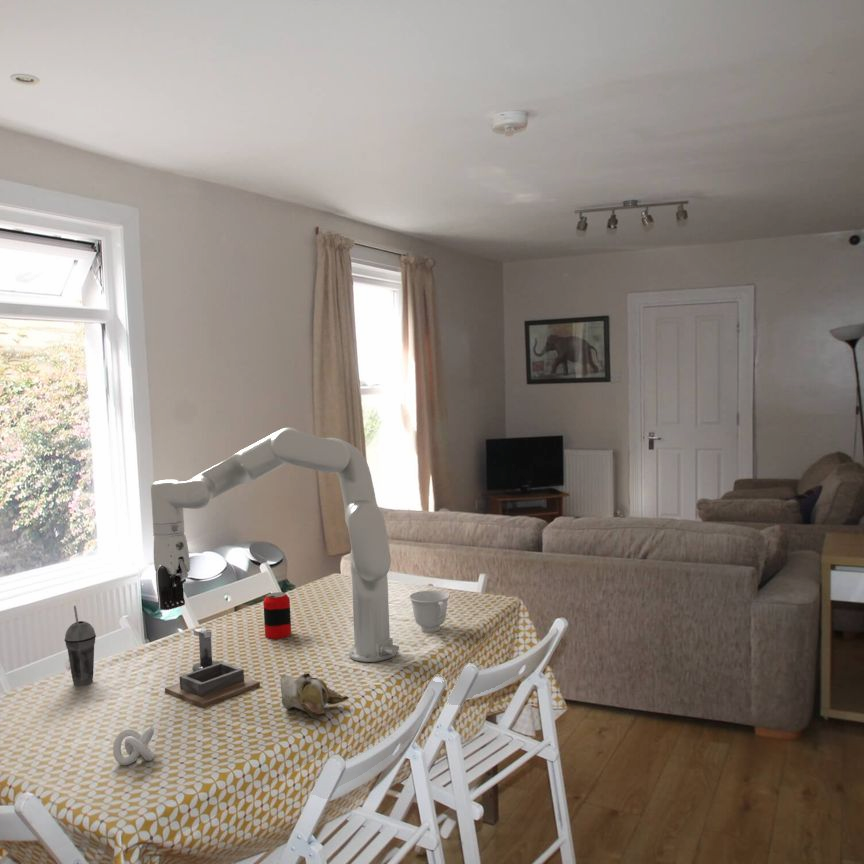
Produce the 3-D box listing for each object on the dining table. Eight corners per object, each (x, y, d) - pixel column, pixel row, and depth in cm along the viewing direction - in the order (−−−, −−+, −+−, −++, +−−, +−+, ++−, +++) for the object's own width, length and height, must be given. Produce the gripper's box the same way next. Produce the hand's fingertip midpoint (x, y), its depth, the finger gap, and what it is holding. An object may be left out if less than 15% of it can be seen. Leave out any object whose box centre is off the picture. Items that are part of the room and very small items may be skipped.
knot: (134, 747, 162) (132, 720, 162) (167, 751, 160) (166, 723, 160) (109, 765, 155) (107, 736, 155) (143, 769, 153) (142, 740, 152)
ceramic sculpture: (295, 660, 185) (350, 671, 179) (295, 695, 186) (350, 708, 180) (267, 676, 176) (324, 689, 169) (267, 714, 177) (324, 728, 170)
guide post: (226, 668, 207) (224, 630, 206) (202, 676, 201) (200, 637, 201) (210, 662, 211) (208, 625, 211) (187, 670, 206) (185, 632, 205)
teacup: (426, 641, 223) (424, 606, 222) (403, 627, 236) (402, 594, 235) (463, 633, 228) (462, 599, 228) (439, 620, 242) (438, 588, 241)
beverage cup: (105, 678, 202) (100, 601, 201) (84, 689, 195) (79, 609, 194) (82, 676, 204) (77, 599, 203) (60, 686, 198) (55, 607, 196)
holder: (259, 685, 193) (259, 669, 193) (203, 707, 181) (202, 690, 181) (221, 672, 204) (220, 656, 204) (165, 691, 192) (164, 675, 191)
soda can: (259, 637, 231) (257, 597, 230) (274, 630, 238) (272, 590, 237) (282, 640, 228) (280, 599, 227) (296, 632, 235) (294, 592, 234)
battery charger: (166, 612, 199) (163, 567, 198) (157, 610, 201) (154, 565, 200) (189, 605, 204) (186, 561, 204) (180, 603, 207) (177, 560, 206)
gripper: (200, 529, 199) (203, 601, 200) (164, 523, 210) (168, 591, 211) (173, 534, 193) (177, 608, 194) (138, 528, 204) (142, 598, 205)
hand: (172, 599), depth 203 cm, fingers closed on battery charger, 4 cm apart
